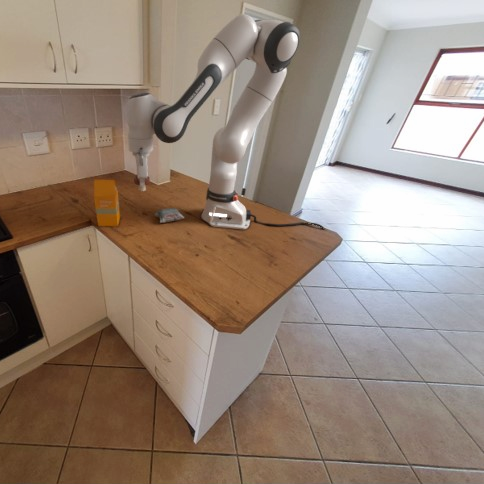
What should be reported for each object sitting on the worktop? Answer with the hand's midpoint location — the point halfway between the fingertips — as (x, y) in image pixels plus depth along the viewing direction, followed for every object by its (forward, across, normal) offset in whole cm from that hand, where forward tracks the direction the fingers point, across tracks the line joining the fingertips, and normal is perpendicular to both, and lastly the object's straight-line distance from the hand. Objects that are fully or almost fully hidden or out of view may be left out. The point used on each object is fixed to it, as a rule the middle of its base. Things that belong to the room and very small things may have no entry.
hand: (141, 182), depth 98 cm
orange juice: (+22, +7, +15) cm, 27 cm away
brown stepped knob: (+3, 0, 0) cm, 3 cm away
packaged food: (+21, +7, -13) cm, 26 cm away
